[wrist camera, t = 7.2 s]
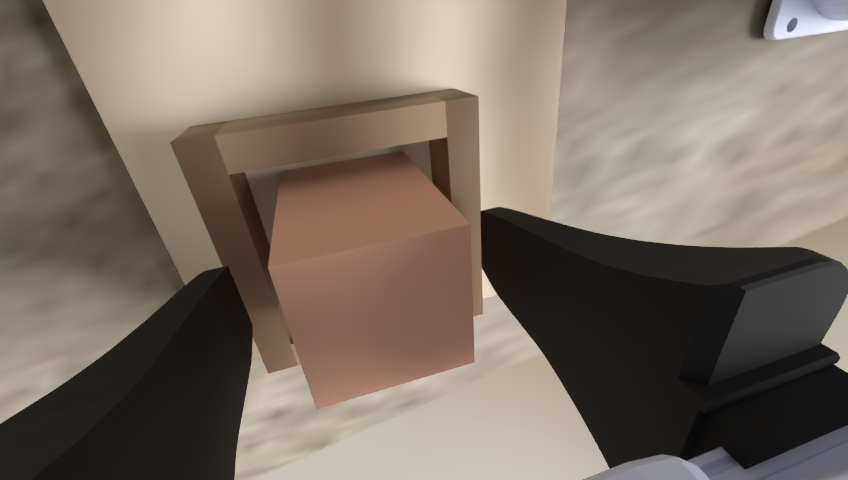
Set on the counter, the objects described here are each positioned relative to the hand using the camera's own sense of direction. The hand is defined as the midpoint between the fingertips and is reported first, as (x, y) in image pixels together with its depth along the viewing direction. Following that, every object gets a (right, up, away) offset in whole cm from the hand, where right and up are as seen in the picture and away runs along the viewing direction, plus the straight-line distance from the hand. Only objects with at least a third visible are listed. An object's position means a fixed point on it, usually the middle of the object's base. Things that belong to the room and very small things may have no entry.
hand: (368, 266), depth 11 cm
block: (-1, +2, +3) cm, 3 cm away
